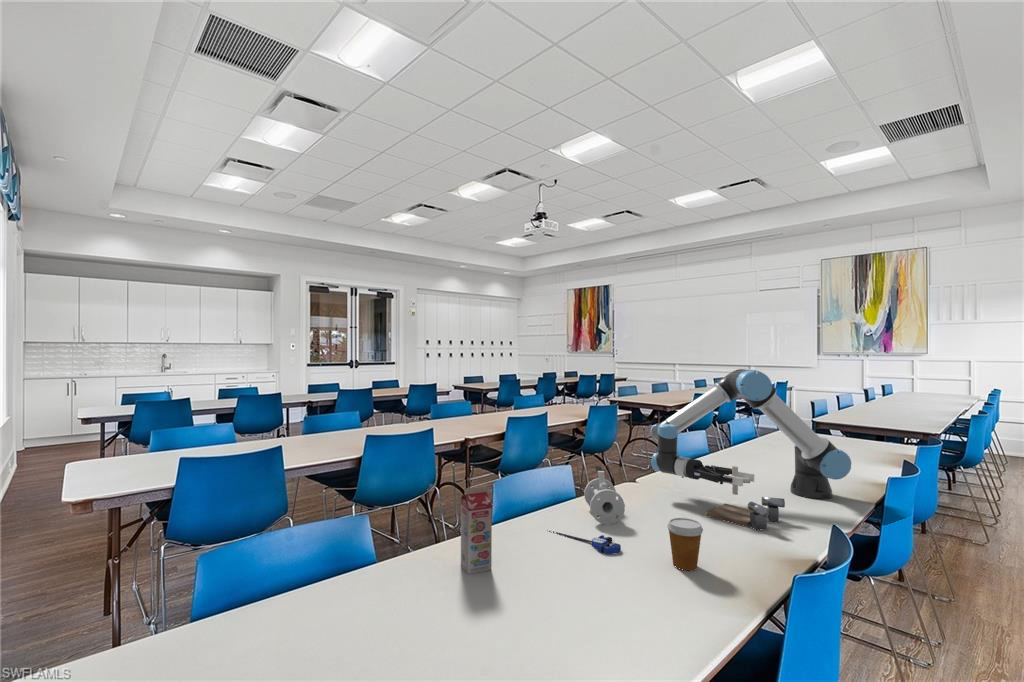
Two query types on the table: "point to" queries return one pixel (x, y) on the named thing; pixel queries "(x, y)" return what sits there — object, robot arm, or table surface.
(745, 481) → the pipe connector
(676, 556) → the disposable coffee cup
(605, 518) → the valve
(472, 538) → the juice carton
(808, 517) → the table surface
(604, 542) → the bar clamp
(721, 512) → the mounting pad
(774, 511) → the grey capsule on block
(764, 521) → the dark grey piece
